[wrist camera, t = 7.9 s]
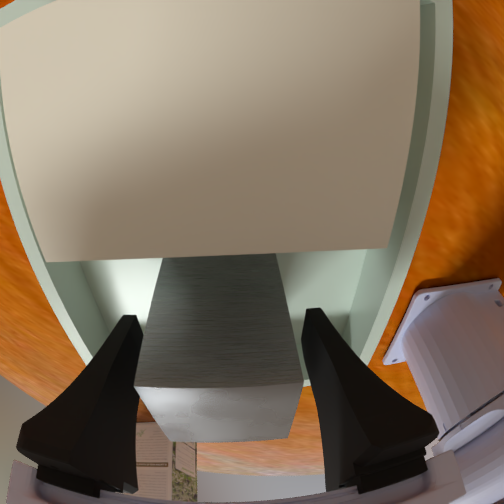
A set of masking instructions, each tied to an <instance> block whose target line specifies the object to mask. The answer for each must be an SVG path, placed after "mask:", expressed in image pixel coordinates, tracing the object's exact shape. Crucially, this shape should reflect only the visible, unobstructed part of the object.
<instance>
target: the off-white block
mask: <svg viewBox="0 0 504 504" xmlns="http://www.w3.org/2000/svg"><path fill="white" fill-rule="evenodd" d="M419 53H420V0H56V1H53V2H51V3H49V4H46V5H44V6H42V7H40V8H37V9H35V10H33V11H31V12H29V13H27V14H25V15H23V16H21V17H19V18H17V19H15V20H13V21H11V22H9V23H8V24H6V25H4V26H2V27H0V78H1V90H2V99H3V107H4V114H5V121H6V127H7V133H8V138H9V143H10V148H11V153H12V157H13V162H14V166H15V170H16V174H17V178H18V181H19V185H20V189H21V192H22V196H23V199H24V202H25V206H26V209H27V212H28V215H29V218H30V221H31V224H32V227H33V229H34V232H35V235H36V238H37V240H38V243H39V246H40V248H41V251H42V253H43V256H44V258H45V261H46V262H70V261H95V260H121V259H146V258H171V257H195V256H219V255H243V254H267V253H291V252H314V251H337V250H360V249H382V248H387V247H388V243H389V239H390V236H391V232H392V228H393V224H394V220H395V216H396V212H397V208H398V203H399V199H400V194H401V190H402V185H403V180H404V175H405V170H406V164H407V159H408V153H409V147H410V141H411V134H412V128H413V120H414V112H415V104H416V94H417V84H418V71H419Z"/></svg>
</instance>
